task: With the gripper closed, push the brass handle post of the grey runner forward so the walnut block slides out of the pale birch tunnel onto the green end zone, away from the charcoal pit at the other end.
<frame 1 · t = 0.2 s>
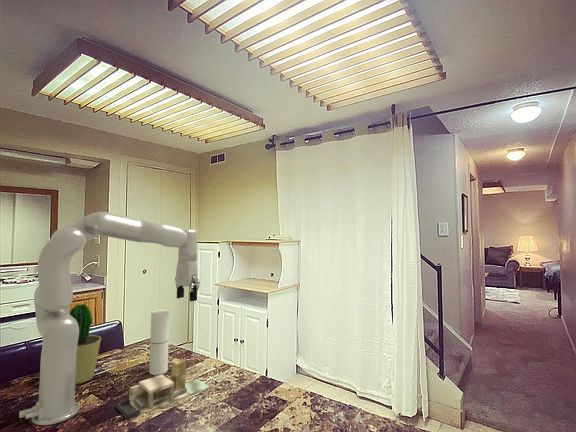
hand: (186, 299, 139), 31 cm above the table, tool pointing down, fingers open, 9 cm apart
cylindrical container: (158, 371, 140), on the table
tunnel: (163, 398, 117), on the table
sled: (161, 381, 117), point 6 cm above the table, slide at 0.0 cm
potted cactus: (77, 378, 133), on the table
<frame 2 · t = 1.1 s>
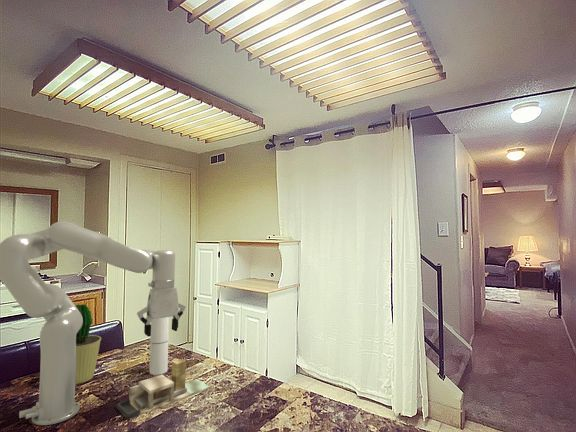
hand: (161, 332, 119), 23 cm above the table, tool pointing down, fingers open, 9 cm apart
nothing on the table moved.
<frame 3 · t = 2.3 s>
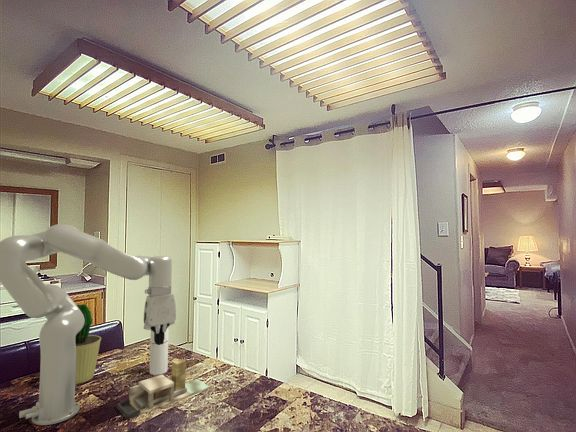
hand: (159, 343, 116), 20 cm above the table, tool pointing down, fingers closed
nothing on the table moved.
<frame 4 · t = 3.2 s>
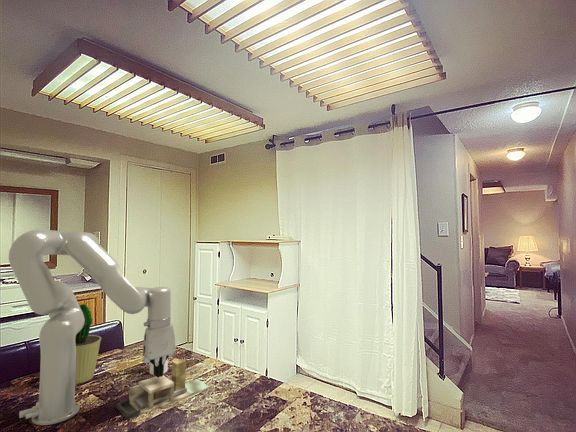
hand: (158, 375, 116), 9 cm above the table, tool pointing down, fingers closed
nothing on the table moved.
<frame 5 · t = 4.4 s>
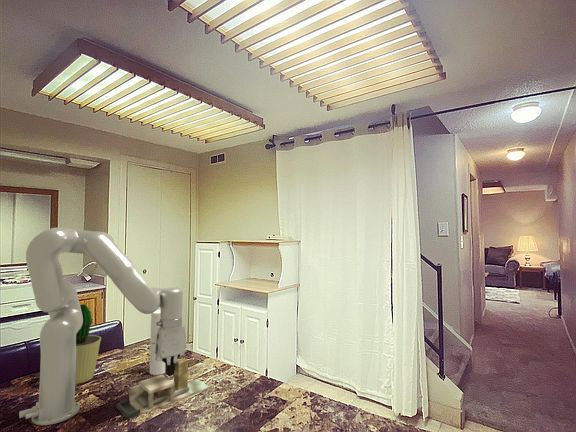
hand: (170, 374, 119), 8 cm above the table, tool pointing down, fingers closed
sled: (164, 380, 117), point 6 cm above the table, slide at 0.9 cm, touching gripper
everything else where it was.
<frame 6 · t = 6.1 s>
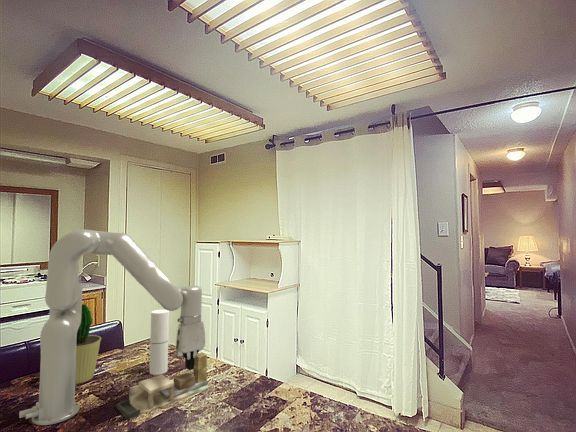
hand: (189, 368, 124), 8 cm above the table, tool pointing down, fingers closed
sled: (185, 373, 123), point 6 cm above the table, slide at 8.9 cm, touching gripper
everything else where it was.
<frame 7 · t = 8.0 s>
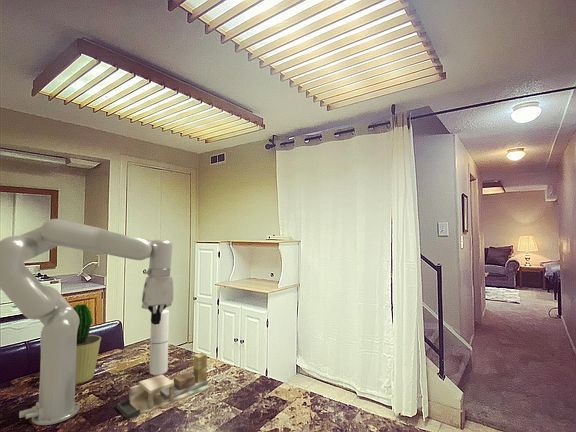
hand: (155, 323, 121), 25 cm above the table, tool pointing down, fingers closed
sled: (185, 373, 123), point 6 cm above the table, slide at 8.9 cm
everything else where it was.
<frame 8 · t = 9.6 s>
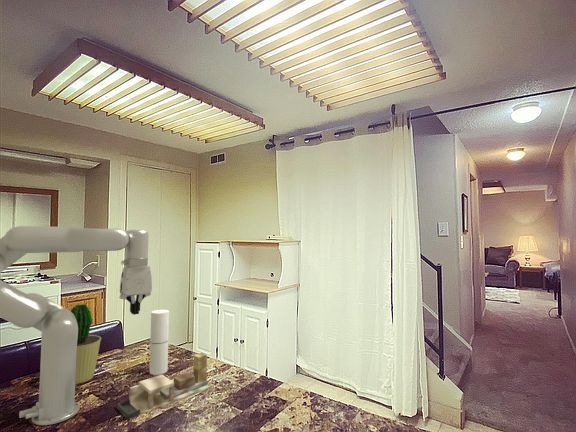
hand: (134, 313, 121), 29 cm above the table, tool pointing down, fingers closed
nothing on the table moved.
at the end: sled slide at 8.9 cm; the gripper is holding nothing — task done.
